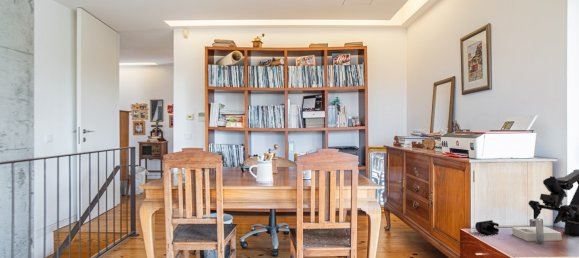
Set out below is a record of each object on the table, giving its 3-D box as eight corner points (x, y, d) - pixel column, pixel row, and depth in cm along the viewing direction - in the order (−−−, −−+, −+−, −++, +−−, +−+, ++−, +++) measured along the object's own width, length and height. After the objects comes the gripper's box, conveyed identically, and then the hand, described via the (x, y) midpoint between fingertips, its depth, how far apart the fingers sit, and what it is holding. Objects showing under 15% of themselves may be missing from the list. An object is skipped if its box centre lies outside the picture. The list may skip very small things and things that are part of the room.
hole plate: (544, 233, 173) (544, 226, 174) (561, 240, 162) (561, 232, 163) (512, 234, 174) (512, 227, 174) (527, 241, 163) (527, 233, 163)
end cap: (488, 230, 182) (487, 219, 182) (499, 234, 175) (499, 222, 175) (475, 232, 179) (474, 220, 179) (486, 236, 172) (485, 224, 173)
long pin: (540, 242, 161) (539, 218, 161) (545, 244, 158) (544, 220, 158) (535, 242, 161) (534, 218, 161) (539, 244, 158) (538, 220, 158)
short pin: (533, 231, 178) (533, 219, 178) (537, 232, 175) (537, 220, 175) (528, 231, 178) (528, 219, 178) (532, 233, 175) (532, 220, 175)
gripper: (529, 185, 172) (517, 207, 167) (570, 191, 155) (558, 215, 150) (538, 198, 175) (527, 220, 170) (579, 205, 157) (568, 229, 153)
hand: (544, 221), depth 161 cm, fingers open, 9 cm apart
